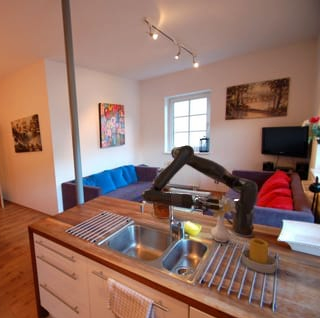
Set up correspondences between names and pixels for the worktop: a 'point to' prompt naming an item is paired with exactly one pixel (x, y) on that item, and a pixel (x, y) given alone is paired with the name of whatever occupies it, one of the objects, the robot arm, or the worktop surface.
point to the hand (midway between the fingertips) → (219, 204)
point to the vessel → (161, 208)
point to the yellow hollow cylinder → (258, 251)
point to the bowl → (258, 267)
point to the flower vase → (222, 219)
